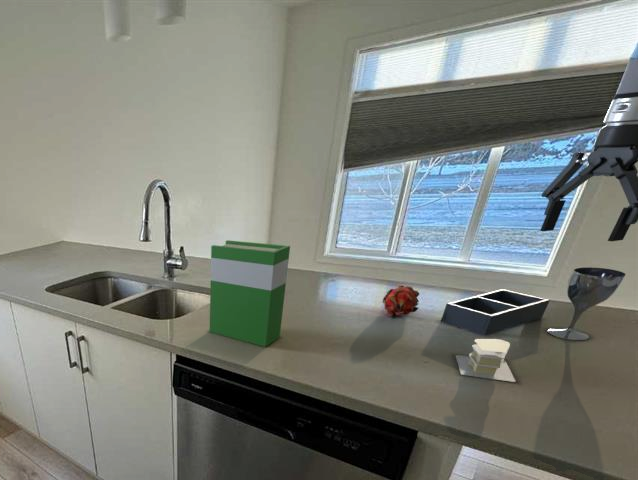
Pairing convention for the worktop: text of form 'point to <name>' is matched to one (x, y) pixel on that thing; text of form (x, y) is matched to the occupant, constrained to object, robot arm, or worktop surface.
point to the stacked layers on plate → (487, 360)
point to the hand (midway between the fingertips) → (578, 235)
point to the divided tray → (494, 311)
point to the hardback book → (248, 290)
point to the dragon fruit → (401, 301)
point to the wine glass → (588, 295)
